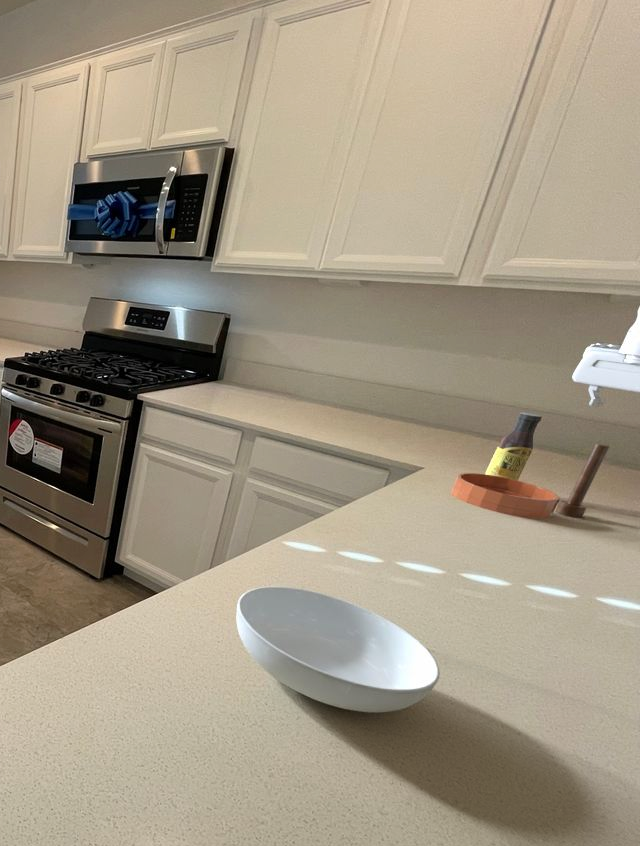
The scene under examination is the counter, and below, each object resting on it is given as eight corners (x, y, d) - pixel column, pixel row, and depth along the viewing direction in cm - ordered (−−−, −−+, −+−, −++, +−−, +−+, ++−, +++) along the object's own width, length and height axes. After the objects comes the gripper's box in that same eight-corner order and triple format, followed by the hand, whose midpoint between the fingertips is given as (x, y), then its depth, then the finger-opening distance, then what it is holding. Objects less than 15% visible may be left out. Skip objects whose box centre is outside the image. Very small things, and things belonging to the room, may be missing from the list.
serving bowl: (348, 761, 61) (370, 709, 59) (190, 644, 79) (202, 600, 77) (457, 712, 69) (480, 664, 67) (292, 615, 87) (305, 575, 85)
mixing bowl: (540, 510, 138) (551, 486, 136) (554, 532, 125) (566, 507, 123) (446, 490, 147) (455, 467, 145) (450, 509, 135) (460, 485, 133)
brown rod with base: (580, 514, 137) (614, 445, 131) (583, 519, 134) (619, 449, 128) (554, 508, 139) (586, 440, 133) (556, 513, 136) (590, 444, 130)
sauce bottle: (491, 491, 149) (524, 415, 142) (474, 482, 155) (504, 409, 148) (520, 494, 148) (554, 418, 141) (501, 485, 154) (533, 412, 147)
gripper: (580, 340, 132) (554, 400, 137) (713, 355, 113) (678, 424, 118) (599, 341, 133) (572, 400, 138) (734, 355, 115) (698, 423, 120)
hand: (622, 411), depth 128 cm, fingers open, 8 cm apart
